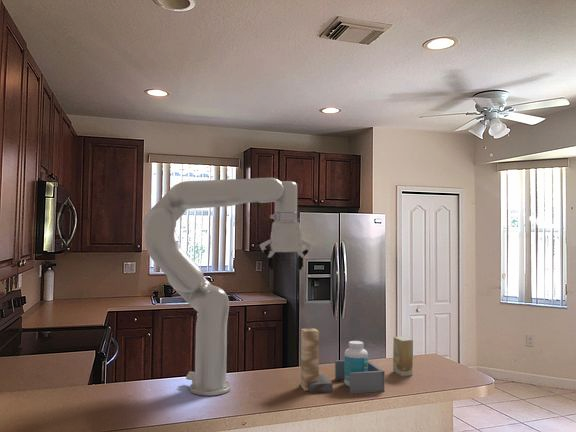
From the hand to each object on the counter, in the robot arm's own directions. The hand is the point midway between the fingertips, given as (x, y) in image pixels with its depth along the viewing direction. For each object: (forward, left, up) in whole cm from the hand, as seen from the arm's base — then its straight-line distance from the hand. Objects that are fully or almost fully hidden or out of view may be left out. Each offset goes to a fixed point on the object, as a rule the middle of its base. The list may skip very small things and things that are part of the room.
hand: (285, 269), depth 157 cm
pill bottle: (+23, +6, -36) cm, 43 cm away
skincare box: (+33, +26, -36) cm, 56 cm away
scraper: (+12, -2, -36) cm, 38 cm away
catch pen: (+23, +7, -36) cm, 44 cm away
